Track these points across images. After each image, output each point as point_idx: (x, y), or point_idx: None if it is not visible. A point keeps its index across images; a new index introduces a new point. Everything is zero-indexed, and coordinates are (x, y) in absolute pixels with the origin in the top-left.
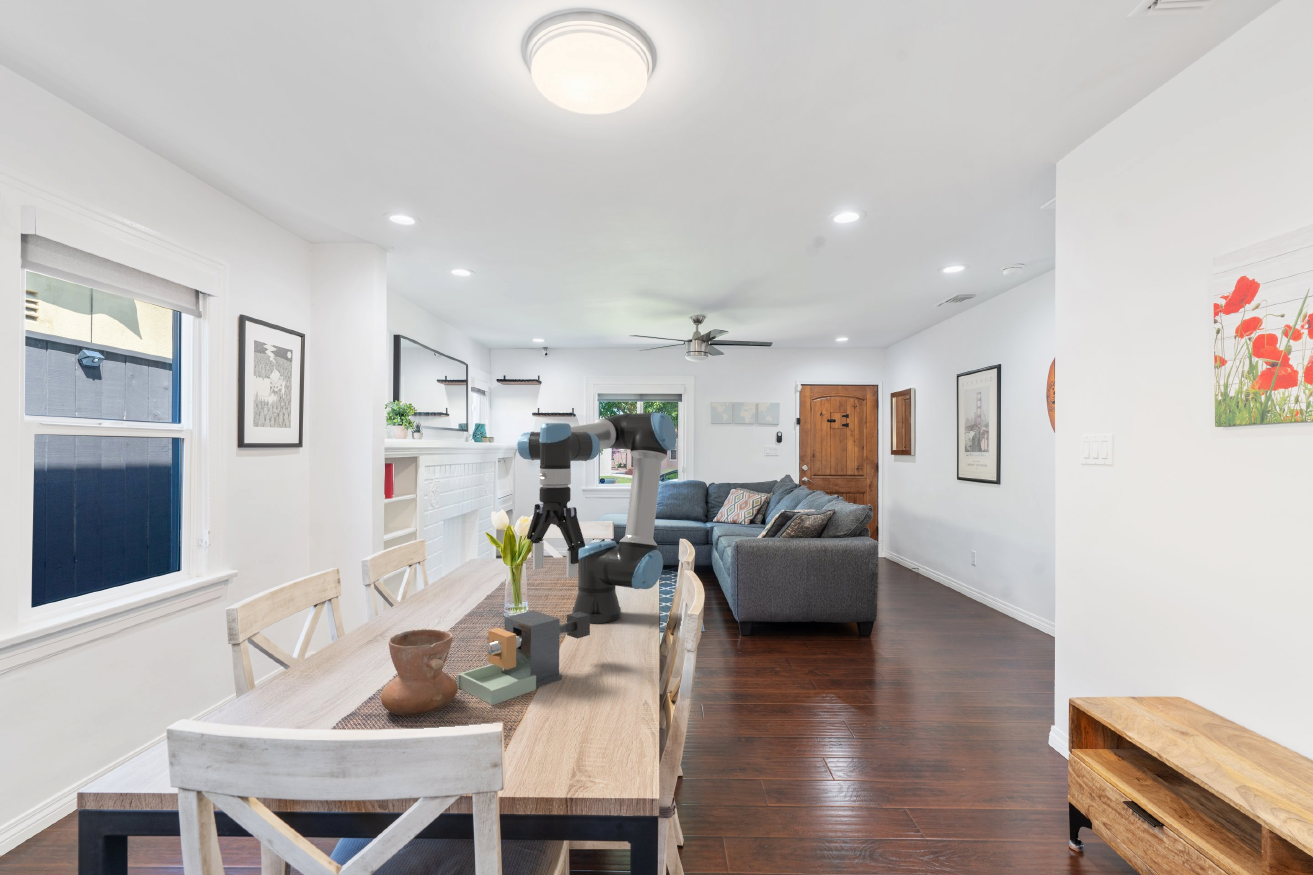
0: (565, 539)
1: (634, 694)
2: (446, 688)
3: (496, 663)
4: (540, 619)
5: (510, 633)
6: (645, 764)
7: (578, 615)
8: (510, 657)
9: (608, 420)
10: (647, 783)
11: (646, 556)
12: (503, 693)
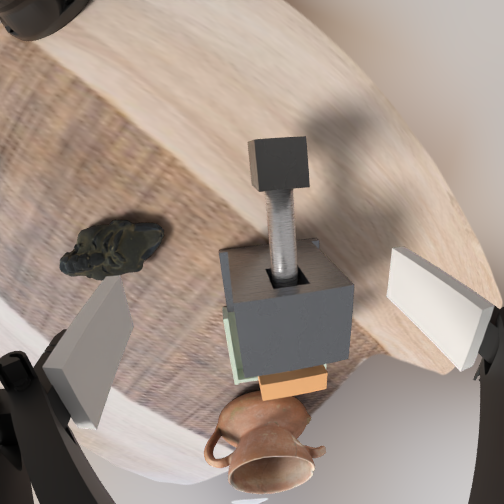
0: (485, 415)
1: (430, 189)
2: (302, 415)
3: None
4: (324, 325)
5: (314, 379)
6: (494, 286)
7: (290, 169)
8: None
9: None
10: (500, 299)
11: None
12: None
